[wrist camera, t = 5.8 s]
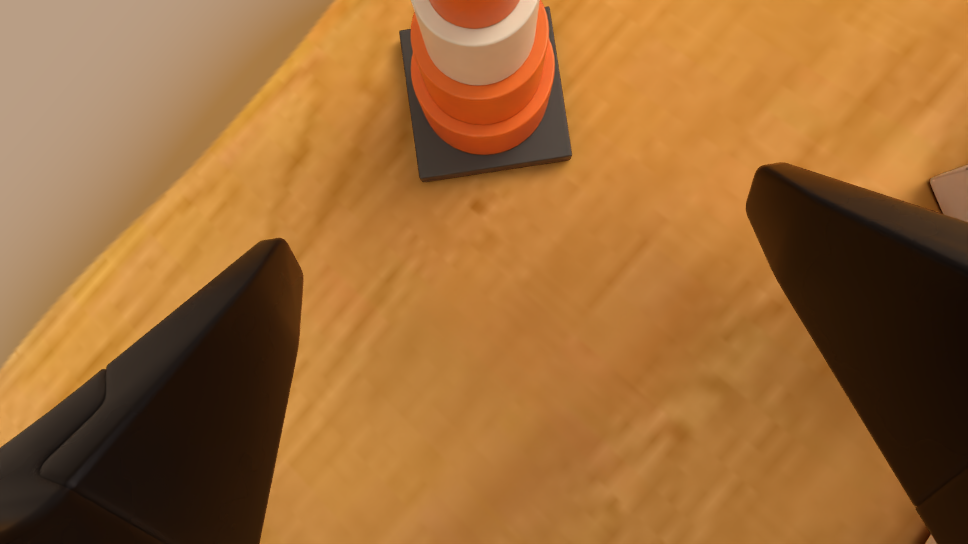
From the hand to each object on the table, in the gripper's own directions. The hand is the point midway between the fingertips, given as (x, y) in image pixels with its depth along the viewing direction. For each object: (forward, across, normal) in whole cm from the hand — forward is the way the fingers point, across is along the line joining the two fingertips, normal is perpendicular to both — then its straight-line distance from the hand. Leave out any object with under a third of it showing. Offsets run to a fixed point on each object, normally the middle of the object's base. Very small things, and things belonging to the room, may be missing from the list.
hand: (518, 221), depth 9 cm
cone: (+15, 0, +4) cm, 16 cm away
